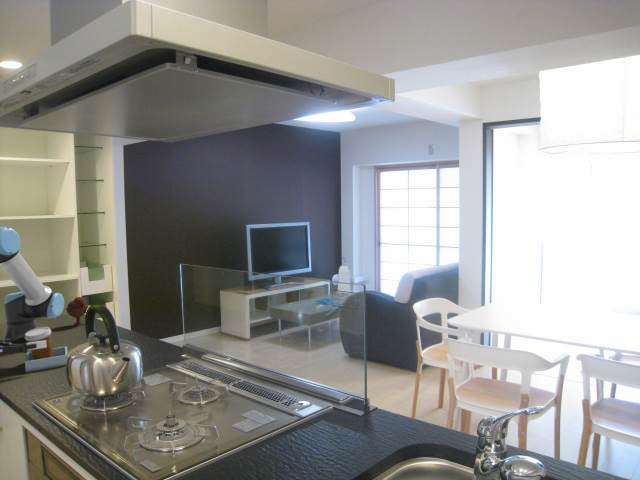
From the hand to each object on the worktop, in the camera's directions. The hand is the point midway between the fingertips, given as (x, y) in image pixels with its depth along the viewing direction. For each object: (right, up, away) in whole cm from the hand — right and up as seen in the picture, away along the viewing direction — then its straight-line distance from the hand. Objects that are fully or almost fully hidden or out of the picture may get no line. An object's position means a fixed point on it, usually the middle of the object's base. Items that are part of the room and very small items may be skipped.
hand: (46, 339), depth 200 cm
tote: (0, -10, +1) cm, 10 cm away
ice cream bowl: (-19, -5, +66) cm, 69 cm away
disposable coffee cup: (-2, -8, +3) cm, 9 cm away
